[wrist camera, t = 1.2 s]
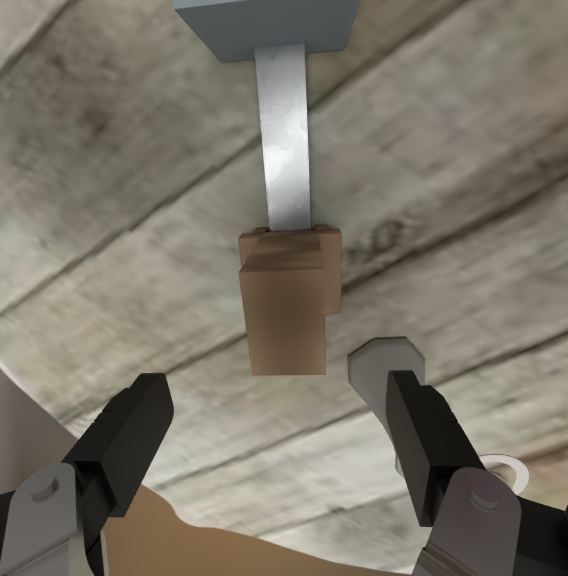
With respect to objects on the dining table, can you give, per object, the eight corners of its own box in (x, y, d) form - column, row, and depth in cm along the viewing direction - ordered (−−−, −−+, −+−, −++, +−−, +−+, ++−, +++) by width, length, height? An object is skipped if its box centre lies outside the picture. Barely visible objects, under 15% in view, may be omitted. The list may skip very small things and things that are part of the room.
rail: (304, 54, 20) (303, 22, 15) (314, 319, 27) (315, 351, 23) (259, 58, 20) (244, 29, 16) (280, 320, 28) (275, 352, 23)
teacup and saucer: (433, 462, 34) (449, 500, 30) (506, 435, 32) (533, 472, 28) (466, 508, 36) (484, 548, 32) (536, 485, 34) (565, 525, 30)
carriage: (337, 224, 23) (356, 267, 14) (337, 296, 26) (354, 374, 16) (246, 229, 24) (207, 273, 15) (254, 298, 26) (225, 375, 17)
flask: (334, 350, 29) (347, 441, 19) (412, 324, 27) (466, 410, 18) (361, 406, 31) (383, 511, 22) (433, 385, 29) (491, 489, 20)
